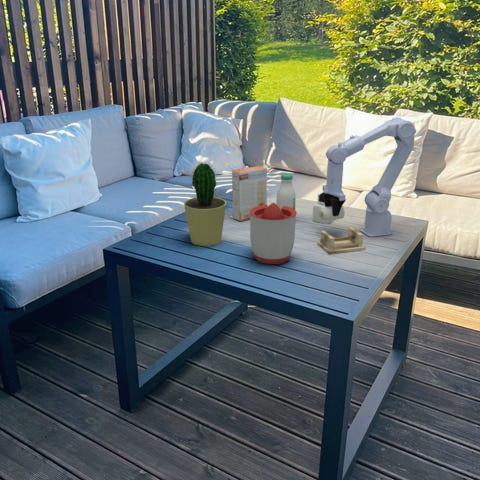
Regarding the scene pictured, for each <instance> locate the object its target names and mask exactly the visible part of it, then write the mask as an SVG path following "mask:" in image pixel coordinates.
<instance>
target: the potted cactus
mask: <svg viewBox="0 0 480 480" xmlns="http://www.w3.org/2000/svg"><path fill="white" fill-rule="evenodd" d="M191 173H192V175H191V179H192V180H191V187H192V188H193V189H194V192H195V194H194V195H193V196H194V197H193V198H189V199H187V200H185V201H184V202H183V205H184V211H185V212H184V213H185V216H186V222H187V226H188V232H189V237H190V241H191V243H192V244H193V245H196V246H200V247H210V246H215V245H218V244H220V243H221V241H222V236H223V229H224V222H225V221H224V220H225V215H226V208H227V207H226V206H227V201H226V200H225V199H223V198H221V197H216V196H214V195H216V192H215V191H216V188H217V182H218V181H219V180H216V174H217V173H216V171H215V170H214V167H213V166H212V165H211V162H209V163H207V162H205V163H202V162H199V163H198V164H197V165H196V166H195V168H193V171H192V172H191Z"/></svg>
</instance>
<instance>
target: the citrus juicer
mask: <svg viewBox="0 0 480 480" xmlns="http://www.w3.org/2000/svg"><path fill="white" fill-rule="evenodd" d="M297 212H298V211H296V209H295V210H294V209H293V208H291V207H288V206H283V207H282V208H281V209H280V208H279V207H278V206H277V205H276V202H272V203H270V204H269V205H268V204H267V205H261V206H257V207H254V208H252V209H251V210H250V219H249V221H250V222H249V224H250V227H249V228H250V230H249V236H250V237H249V239H250V246H251V249H252V254H253V256H254V257H255V259H256V261H258V262H259V263H263V264H266V265H267V264H269V265H277V264H280V265H281V264H283V263H285V262H287V261H288V260H289V258H290V256H291V255H292V251H293V248H294V244H295V239H296V238H295V237H296V215H297V214H298V213H297Z"/></svg>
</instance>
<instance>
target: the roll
mask: <svg viewBox="0 0 480 480" xmlns="http://www.w3.org/2000/svg"><path fill="white" fill-rule="evenodd" d="M319 215H320V218H321V220H322V221H324V220H332V219H334V220H339V219H340V220H341V219H344V217H345V208H344V206H343V205H342V207H341V210H340V213H339V216H333V214H332V206H330V207H321V208H320V211H319Z"/></svg>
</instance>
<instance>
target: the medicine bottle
mask: <svg viewBox="0 0 480 480" xmlns="http://www.w3.org/2000/svg"><path fill="white" fill-rule="evenodd" d="M321 193H324V192H323V191H319V192H318V193H317V201H316V203H314V204H313V206H312V222H316V223H318V224H319V223H320V224H325V225H329V224H331V223H332V222H333V221H334V220H335V219H332V220H324V221H322V220H321V218H320V215H319V211H320V208H321V207H325V203H324V200H323V197H322V195H321Z"/></svg>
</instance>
